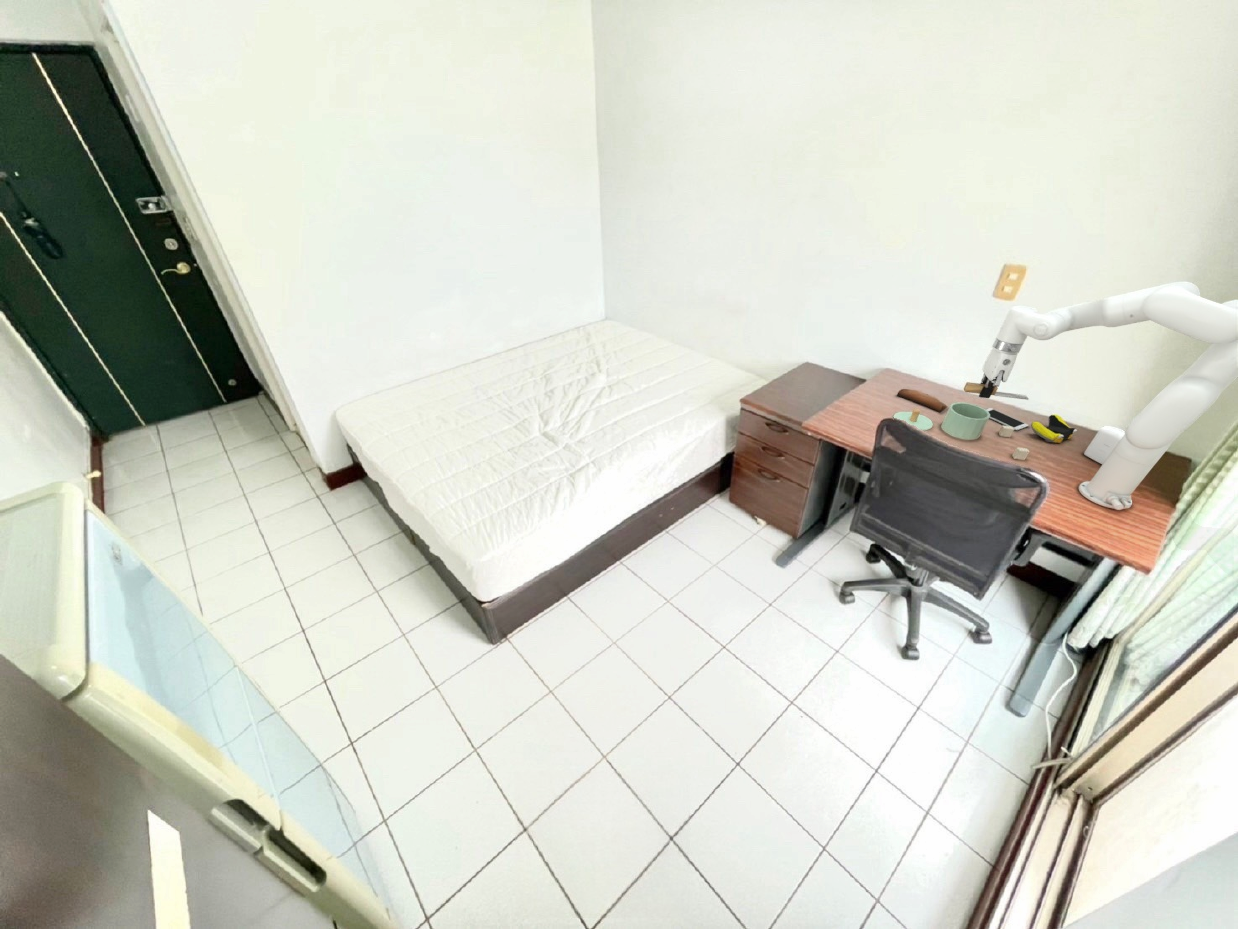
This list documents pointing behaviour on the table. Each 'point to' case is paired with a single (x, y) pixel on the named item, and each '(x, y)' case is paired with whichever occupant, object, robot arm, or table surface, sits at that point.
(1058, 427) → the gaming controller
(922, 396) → the sunglasses case
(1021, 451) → the pair of cream blocks
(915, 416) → the lid
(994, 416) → the smartphone
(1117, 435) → the photo printer
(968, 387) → the knife
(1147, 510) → the table surface
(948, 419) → the pot
